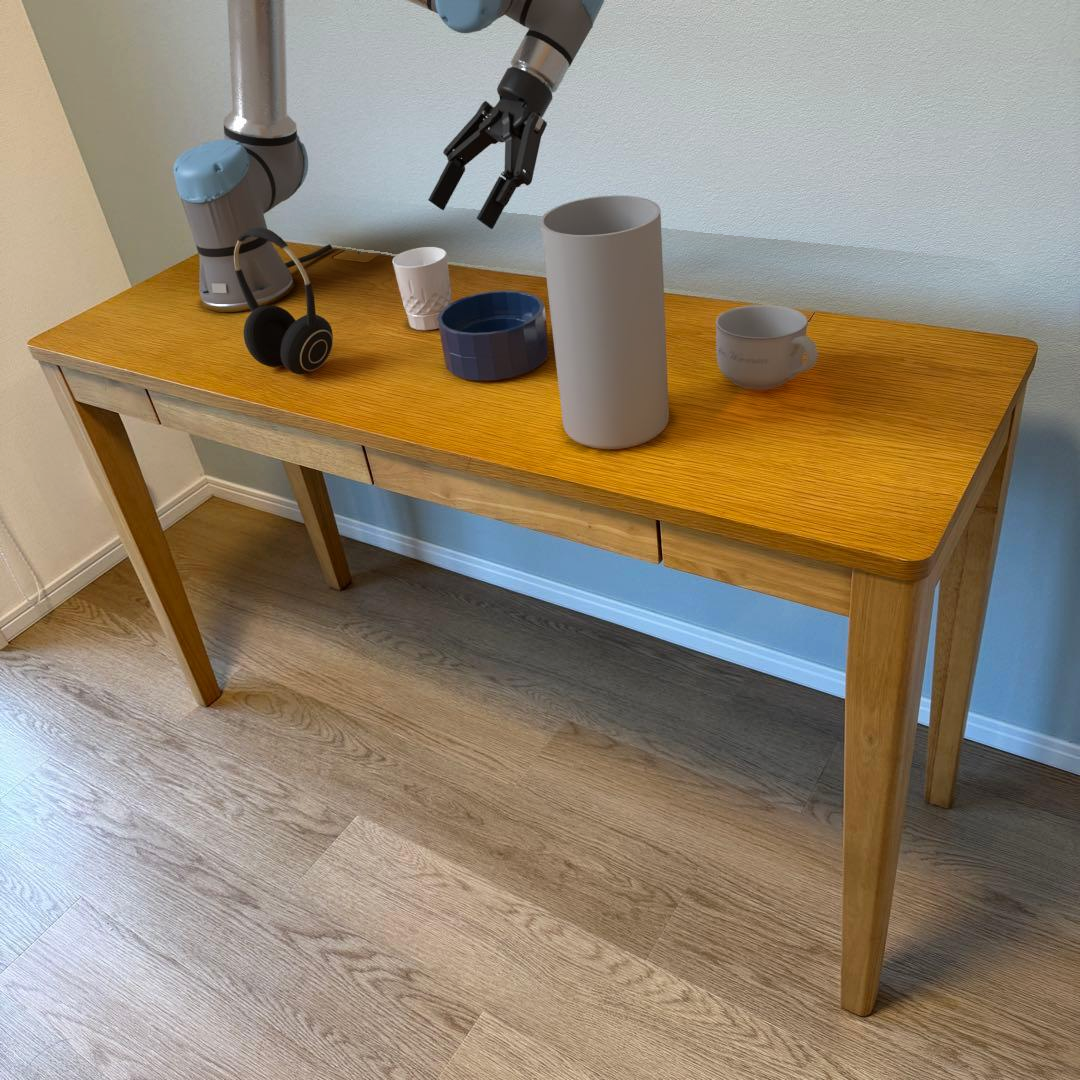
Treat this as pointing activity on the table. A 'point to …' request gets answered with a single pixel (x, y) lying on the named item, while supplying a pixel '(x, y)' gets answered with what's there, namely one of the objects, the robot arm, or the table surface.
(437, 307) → the white cup
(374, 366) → the table surface
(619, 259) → the cylinder vase
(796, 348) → the teacup
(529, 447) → the table surface
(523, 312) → the navy blue bowl
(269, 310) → the headphones
